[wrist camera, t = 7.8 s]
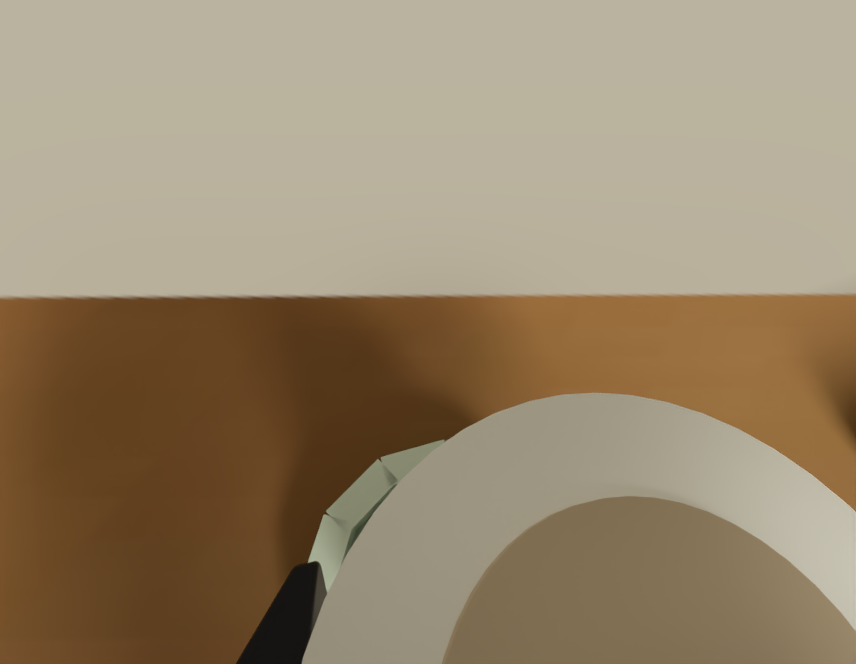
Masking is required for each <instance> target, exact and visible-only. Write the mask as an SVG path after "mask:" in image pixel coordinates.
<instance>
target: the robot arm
mask: <svg viewBox="0 0 856 664" xmlns="http://www.w3.org/2000/svg"><path fill="white" fill-rule="evenodd" d="M326 595H327V590H326V586H325V581H324V577H323V572H322V568H321V564H320V563H319V562H318V561H313V562H308V563H304V564H300V565H296V566H295V567H294V568H293V569H292V570H291V572H290V574H289V575H288V577H287V579H286V581H285V582H284V584H283V586H282V587H281V589H280V591H279V592H278V594H277V596H276V597H275V599H274V601H273V602H272V604H271V606H270V607H269V609H268V611H267V612H266V614H265V616H264V617H263V619H262V621H261V622H260V624H259V626H258V628H257V629H256V631H255V633H254V634H253V636H252V638H251V639H250V641H249V643H248V644H247V646H246V648H245V649H244V651H243V653H242V654H241V656H240V658H239V659H238V661H237V663H236V664H302V660H303V656H304V653H305V651H306V648H307V645H308V642H309V640H310V637H311V634H312V632H313V629H314V626H315V623H316V621H317V618H318V615H319V613H320V610H321V607H322V605H323V602H324V599H325V597H326Z"/></svg>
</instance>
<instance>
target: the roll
mask: <svg viewBox="0 0 856 664" xmlns="http://www.w3.org/2000/svg"><path fill="white" fill-rule="evenodd" d="M302 664H856V512H855V511H854V510H853V509H852V508H851V507H850V506H849V505H848V504H847V503H845V502H844V501H843V500H842V499H841V498H839V497H838V496H837V495H836V494H835V493H833V492H832V491H831V490H830V489H828V488H827V487H826V486H825V485H824V484H822V483H821V482H820V481H819V480H818V479H816V478H815V477H814V476H813V475H811V474H810V473H809V472H807V471H806V470H804V469H803V468H801V467H800V466H798V465H797V464H795V463H794V462H793V461H791V460H790V459H788V458H787V457H785V456H784V455H782V454H781V453H779V452H778V451H777V450H775V449H773V448H772V447H770V446H768V445H766V444H764V443H763V442H761V441H759V440H757V439H755V438H754V437H752V436H750V435H748V434H747V433H745V432H743V431H741V430H739V429H737V428H735V427H733V426H730V425H728V424H726V423H724V422H721V421H719V420H717V419H715V418H712V417H710V416H708V415H705V414H703V413H700V412H697V411H694V410H691V409H687V408H684V407H681V406H678V405H675V404H672V403H668V402H664V401H659V400H654V399H649V398H644V397H639V396H633V395H622V394H608V393H583V394H566V395H558V396H553V397H548V398H543V399H538V400H533V401H528V402H525V403H522V404H520V405H517V406H514V407H511V408H508V409H505V410H502V411H499V412H496V413H494V414H492V415H490V416H488V417H486V418H484V419H482V420H480V421H478V422H477V423H475V424H473V425H471V426H469V427H467V428H465V429H463V430H462V431H460V432H459V433H457V434H456V435H454V436H453V437H452V438H450V439H449V440H447V441H446V442H444V443H443V444H442V445H440V446H439V447H437V448H436V449H434V450H433V451H432V452H431V453H430V454H428V455H427V456H426V457H425V458H424V459H423V460H422V461H421V462H420V463H419V464H418V465H417V466H415V467H414V468H413V469H412V470H411V471H410V472H409V473H408V474H407V475H406V476H405V477H403V478H402V480H401V481H400V482H399V483H398V484H397V486H396V487H395V488H394V489H393V490H392V491H391V493H390V494H389V495H388V496H387V497H386V499H385V500H384V501H383V502H382V503H381V505H380V506H379V507H378V508H377V509H376V511H375V512H374V513H373V515H372V516H371V518H370V519H369V521H368V522H367V524H366V525H365V527H364V529H363V530H362V532H361V533H360V535H359V536H358V538H357V539H356V541H355V542H354V544H353V545H352V547H351V548H350V550H349V552H348V553H347V555H346V557H345V559H344V561H343V563H342V565H341V567H340V569H339V571H338V573H337V575H336V577H335V579H334V581H333V583H332V585H331V587H330V589H329V591H328V593H327V595H326V597H325V599H324V602H323V605H322V607H321V610H320V613H319V615H318V618H317V621H316V623H315V626H314V629H313V632H312V634H311V637H310V640H309V642H308V645H307V648H306V651H305V653H304V656H303V660H302Z"/></svg>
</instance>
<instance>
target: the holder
mask: <svg viewBox="0 0 856 664" xmlns="http://www.w3.org/2000/svg"><path fill="white" fill-rule="evenodd" d="M447 440H448V439H447ZM447 440H446V441H447ZM444 442H445V441H444V439H443V440H440V441H436V442H433V443H429V444H425V445H422V446H418V447H415V448H411V449H408V450H404V451H401V452H397V453H393V454H390V455H386V456H383V457H381V461H380V460H379V459H377V460H376V461H375V462H374V463H373V464H372V465H371V466H370V467H369V468H368V469H367V470H366V471H365V472H364V473H363V474H362V475H361V476H360V477H359V478H358V479H357V480H356V481H355V482H354V483H353V484H352V485H351V486H350V487H349V488H348V489H347V490H346V491H345V492H344V493H343V494H342V495H341V496H340V497H339V498H338V499H337V500H336V501H335V502H334V503H333V504H332V505H331V506H330V507H329V508H328V509H327V510H326V512H327V513H328V514H329V515H330V516H328V515H325V514H324V515H323V518H322V521H321V524H320V527H319V530H318V533H317V536H316V539H315V542H314V545H313V548H312V551H311V554H310V557H309V560H308V562H313V561H318V562H319V563H320V564H321V568H322V572H323V577H324V581H325V586H326V590H327V593H328V591H329V589H330V587H331V585H332V583H333V581H334V579H335V577H336V575H337V573H338V571H339V569H340V567H341V565H342V563H343V561H344V559H345V557H346V555H347V553H348V552H349V550H350V548H351V547H352V545H353V544H354V542H355V541H356V539H357V538H358V536H359V535H360V533H361V532H362V530H363V529H364V527H365V525H366V524H367V522H368V521H369V519H370V518H371V516H372V515H373V513H374V512H375V511H376V509H377V508H378V507H379V506H380V505H381V503H382V502H383V501H384V500H385V499H386V497H387V496H388V495H389V494H390V493H391V491H392V490H393V489H394V488H395V487H396V486H397V484H398V483H399V482H400V481H401V480H402V478H403V477H405V476H406V475H407V474H408V473H409V472H410V471H411V470H412V469H413V468H414V467H415V466H417V465H418V464H419V463H420V462H421V461H422V460H423V459H424V458H425V457H426V456H427V455H428V454H430V453H431V452H432V451H433V450H434V449H436V448H437V447H439V446H440V445H442V444H443V443H444Z"/></svg>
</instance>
